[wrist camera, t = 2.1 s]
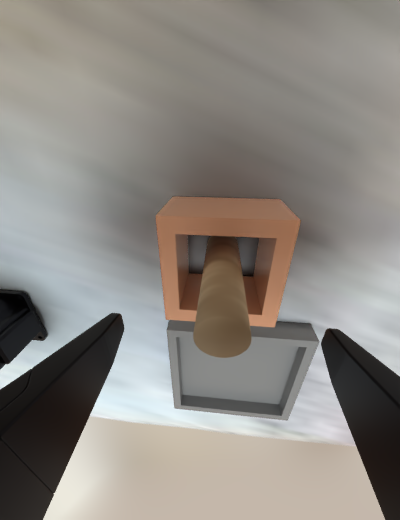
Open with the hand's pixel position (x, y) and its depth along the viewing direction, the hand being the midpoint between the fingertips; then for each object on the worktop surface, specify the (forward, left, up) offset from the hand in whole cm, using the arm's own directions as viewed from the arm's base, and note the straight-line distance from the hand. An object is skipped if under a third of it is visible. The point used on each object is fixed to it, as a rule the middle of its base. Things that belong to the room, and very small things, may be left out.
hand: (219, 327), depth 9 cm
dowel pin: (0, 0, -8) cm, 8 cm away
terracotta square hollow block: (0, 0, -8) cm, 8 cm away
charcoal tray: (+2, -14, -8) cm, 16 cm away
